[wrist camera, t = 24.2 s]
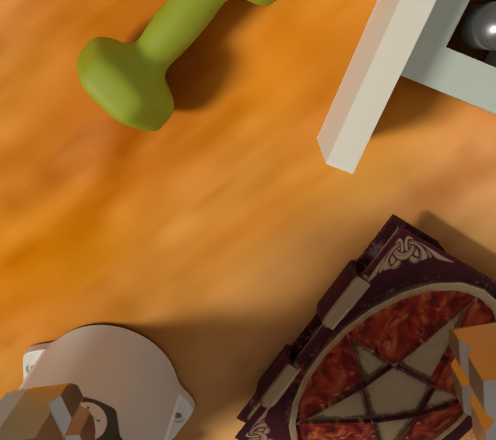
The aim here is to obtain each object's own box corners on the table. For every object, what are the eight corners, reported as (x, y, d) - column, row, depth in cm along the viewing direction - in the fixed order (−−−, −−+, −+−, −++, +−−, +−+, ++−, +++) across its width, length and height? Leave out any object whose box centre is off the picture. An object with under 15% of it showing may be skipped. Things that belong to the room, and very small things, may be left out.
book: (385, 482, 55) (395, 523, 51) (230, 411, 52) (227, 449, 47) (561, 310, 45) (594, 343, 41) (384, 207, 42) (399, 230, 37)
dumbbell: (159, 131, 40) (136, 151, 33) (87, 61, 38) (46, 68, 31) (301, -21, 35) (307, -34, 28) (225, -110, 33) (212, -145, 26)
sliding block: (493, 113, 37) (516, 122, 34) (379, 67, 36) (391, 71, 33) (568, -18, 34) (604, -24, 30) (443, -73, 33) (465, -85, 29)
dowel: (489, 42, 36) (537, 44, 29) (449, 51, 36) (486, 56, 30) (488, 0, 34) (536, -7, 28) (446, 10, 35) (484, 5, 28)
